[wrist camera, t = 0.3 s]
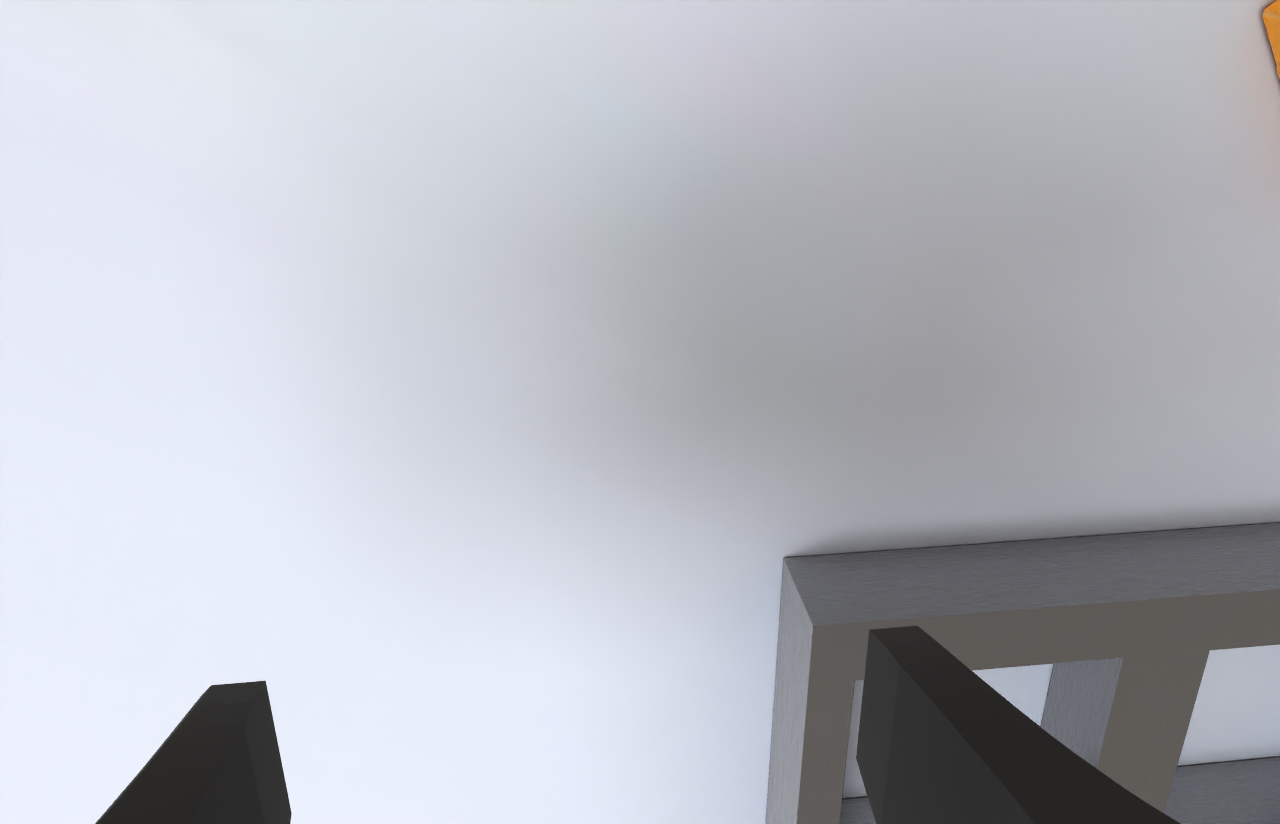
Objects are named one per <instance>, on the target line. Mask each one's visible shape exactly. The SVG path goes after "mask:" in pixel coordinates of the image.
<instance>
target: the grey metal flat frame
mask: <svg viewBox="0 0 1280 824" xmlns="http://www.w3.org/2000/svg"><path fill="white" fill-rule="evenodd" d="M906 626H919V627H920V628H921V629H922V630H924V631H925V632H926V633H927V634H928V635H930V636H931V637H932V638H933V639H935V640H936V641H937V642H938V643H939V644H941V645H942V646H943V647H944V648H945V649H946V650H948V651H949V652H950V653H951V654H952V655H954V656H955V657H956V658H957V659H958V660H959V661H961V662H962V663H963V664H964V665H965V666H966V667H968V668H969V669H970V670H982V669H993V668H1005V667H1017V666H1029V665H1041V664H1052V663H1054V665H1053V670H1052V675H1051V680H1050V685H1049V689H1048V694H1047V699H1046V704H1045V709H1044V714H1043V719H1042V724H1041V728H1042V729H1044V730H1045V731H1046V732H1048V733H1049V734H1050V735H1051V736H1053V737H1054V738H1055V739H1057V740H1058V741H1059V742H1061V743H1062V744H1063V745H1065V746H1066V747H1067V748H1069V749H1070V750H1071V751H1073V752H1074V753H1075V754H1077V755H1078V756H1080V757H1081V758H1082V759H1084V760H1085V761H1087V762H1088V763H1089V764H1091V765H1092V766H1094V767H1095V768H1097V769H1098V770H1099V771H1101V772H1102V773H1104V774H1105V775H1106V776H1108V777H1109V778H1111V779H1112V780H1113V781H1115V782H1116V783H1118V784H1119V785H1121V786H1122V787H1124V788H1125V789H1127V790H1128V791H1130V792H1131V793H1133V794H1134V795H1136V796H1137V797H1139V798H1140V799H1142V800H1143V801H1145V802H1146V803H1148V804H1150V805H1151V806H1153V807H1154V808H1156V809H1158V810H1159V811H1161V812H1163V813H1164V814H1166V815H1167V816H1169V817H1171V818H1172V819H1174V820H1176V821H1177V822H1179V823H1180V824H1280V757H1275V758H1265V759H1255V760H1245V761H1234V762H1224V763H1214V764H1203V765H1193V766H1183V767H1177V765H1178V761H1179V758H1180V754H1181V751H1182V747H1183V743H1184V740H1185V736H1186V733H1187V729H1188V726H1189V722H1190V718H1191V715H1192V711H1193V708H1194V704H1195V701H1196V697H1197V694H1198V690H1199V686H1200V683H1201V679H1202V676H1203V672H1204V669H1205V665H1206V661H1207V658H1208V654H1209V651H1210V650H1218V649H1229V648H1241V647H1253V646H1265V645H1277V644H1280V523H1268V524H1254V525H1240V526H1226V527H1212V528H1198V529H1184V530H1170V531H1156V532H1142V533H1128V534H1114V535H1100V536H1086V537H1072V538H1058V539H1044V540H1030V541H1016V542H1002V543H988V544H974V545H960V546H946V547H932V548H918V549H904V550H890V551H876V552H862V553H848V554H834V555H820V556H806V557H792V558H783V573H782V588H781V603H780V618H779V633H778V648H777V663H776V678H775V693H774V708H773V723H772V738H771V753H770V768H769V783H768V798H767V813H766V824H876V822H875V818H874V815H873V812H872V809H871V806H870V803H869V800H868V797H863V798H853V799H843V800H842V794H843V784H844V775H845V765H846V756H847V747H848V737H849V728H850V718H851V709H852V700H853V690H854V681H855V680H864V677H865V667H866V657H867V647H868V637H869V630H871V629H882V628H894V627H906Z"/></svg>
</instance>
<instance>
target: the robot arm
mask: <svg viewBox="0 0 1280 824" xmlns="http://www.w3.org/2000/svg"><path fill="white" fill-rule="evenodd" d="M856 759H857V762H858V765H859V769H860V772H861V776H862V779H863V783H864V786H865V789H866V793H867V796H868V800H869V803H870V806H871V809H872V812H873V815H874V818H875V822H876V824H1180V823H1179V822H1177V821H1176V820H1174V819H1172V818H1171V817H1169V816H1167V815H1166V814H1164V813H1163V812H1161V811H1159V810H1158V809H1156V808H1154V807H1153V806H1151V805H1150V804H1148V803H1146V802H1145V801H1143V800H1142V799H1140V798H1139V797H1137V796H1136V795H1134V794H1133V793H1131V792H1130V791H1128V790H1127V789H1125V788H1124V787H1122V786H1121V785H1119V784H1118V783H1116V782H1115V781H1113V780H1112V779H1111V778H1109V777H1108V776H1106V775H1105V774H1104V773H1102V772H1101V771H1099V770H1098V769H1097V768H1095V767H1094V766H1092V765H1091V764H1089V763H1088V762H1087V761H1085V760H1084V759H1082V758H1081V757H1080V756H1078V755H1077V754H1075V753H1074V752H1073V751H1071V750H1070V749H1069V748H1067V747H1066V746H1065V745H1063V744H1062V743H1061V742H1059V741H1058V740H1057V739H1055V738H1054V737H1053V736H1051V735H1050V734H1049V733H1048V732H1046V731H1045V730H1044V729H1042V728H1041V727H1040V726H1039V725H1037V724H1036V723H1035V722H1033V721H1032V720H1031V719H1030V718H1028V717H1027V716H1026V715H1025V714H1023V713H1022V712H1021V711H1020V710H1018V709H1017V708H1016V707H1015V706H1013V705H1012V704H1011V703H1010V702H1009V701H1007V700H1006V699H1005V698H1004V697H1002V696H1001V695H1000V694H999V693H998V692H996V691H995V690H994V689H993V688H992V687H990V686H989V685H988V684H987V683H986V682H984V681H983V680H982V679H981V678H980V677H978V676H977V675H976V674H975V673H974V672H972V671H971V670H970V669H969V668H968V667H966V666H965V665H964V664H963V663H962V662H961V661H959V660H958V659H957V658H956V657H955V656H954V655H952V654H951V653H950V652H949V651H948V650H946V649H945V648H944V647H943V646H942V645H941V644H939V643H938V642H937V641H936V640H935V639H933V638H932V637H931V636H930V635H928V634H927V633H926V632H925V631H924V630H922V629H921V628H920V627H919V626H906V627H894V628H882V629H871V630H869V637H868V647H867V657H866V667H865V677H864V687H863V696H862V706H861V716H860V726H859V736H858V746H857V756H856ZM290 820H291V809H290V804H289V799H288V793H287V788H286V783H285V778H284V773H283V768H282V763H281V758H280V753H279V747H278V742H277V737H276V732H275V727H274V722H273V717H272V712H271V706H270V701H269V696H268V691H267V686H266V681H258V682H246V683H234V684H222V685H211V686H210V687H209V688H208V689H207V690H206V691H205V693H204V694H203V695H202V696H201V697H200V698H199V700H198V701H197V702H196V703H195V704H194V706H193V707H192V708H191V709H190V711H189V712H188V713H187V714H186V716H185V717H184V718H183V719H182V721H181V722H180V723H179V724H178V726H177V727H176V728H175V729H174V731H173V732H172V733H171V734H170V736H169V737H168V738H167V739H166V740H165V742H164V743H163V744H162V745H161V747H160V748H159V749H158V750H157V752H156V753H155V754H154V755H153V756H152V758H151V759H150V760H149V761H148V762H147V764H146V765H145V766H144V767H143V769H142V770H141V771H140V772H139V773H138V775H137V776H136V777H135V778H134V779H133V780H132V782H131V783H130V784H129V785H128V786H127V787H126V789H125V790H124V791H123V792H122V793H121V794H120V796H119V797H118V798H117V799H116V800H115V801H114V803H113V804H112V805H111V806H110V807H109V808H108V809H107V811H106V812H105V813H104V814H103V815H102V816H101V818H100V819H99V820H98V821H97V822H96V823H95V824H290Z"/></svg>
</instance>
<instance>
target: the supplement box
mask: <svg viewBox="0 0 1280 824" xmlns="http://www.w3.org/2000/svg"><path fill="white" fill-rule="evenodd" d="M1263 21H1264V23H1265V26H1266V29H1267V33H1268V38H1269V41H1270V43H1271V46H1272V51H1273V54H1274V58H1275V61H1276V64H1277V70H1276V71H1277V74H1278V77H1279V79H1280V0H1277V1H1275V2H1274V3H1272V4H1271V5H1270V6H1268V7H1267V8H1265V9H1264V13H1263Z"/></svg>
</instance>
